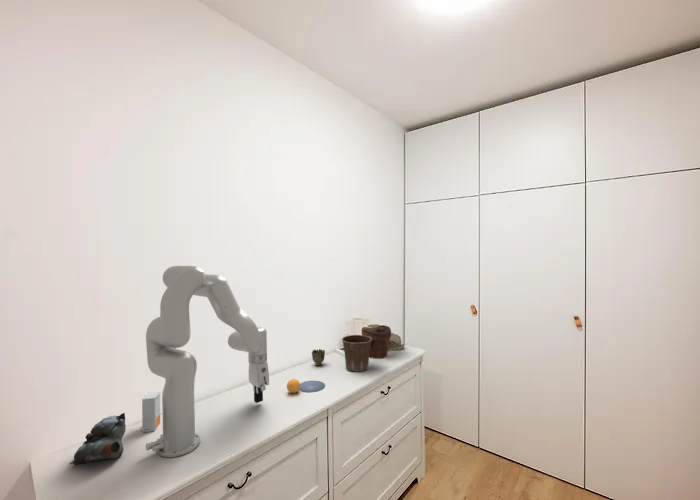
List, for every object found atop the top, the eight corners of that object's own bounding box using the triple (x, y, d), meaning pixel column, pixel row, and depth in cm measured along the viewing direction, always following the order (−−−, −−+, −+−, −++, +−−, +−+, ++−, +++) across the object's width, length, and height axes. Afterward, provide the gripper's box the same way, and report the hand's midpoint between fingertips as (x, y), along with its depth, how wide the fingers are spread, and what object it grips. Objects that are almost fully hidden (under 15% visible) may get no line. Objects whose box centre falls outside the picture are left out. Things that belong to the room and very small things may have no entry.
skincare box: (155, 431, 120) (154, 398, 120) (142, 432, 119) (141, 399, 119) (161, 422, 126) (160, 391, 126) (148, 424, 125) (148, 392, 125)
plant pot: (378, 369, 178) (377, 339, 178) (353, 376, 169) (353, 344, 169) (360, 361, 192) (360, 333, 192) (336, 367, 183) (336, 337, 183)
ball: (290, 394, 147) (293, 380, 148) (282, 390, 151) (285, 377, 152) (301, 394, 150) (303, 380, 152) (293, 390, 155) (296, 377, 156)
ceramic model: (381, 350, 213) (380, 334, 213) (383, 345, 224) (383, 330, 224) (403, 351, 209) (403, 335, 209) (404, 346, 220) (404, 331, 220)
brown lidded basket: (396, 351, 208) (395, 323, 208) (386, 362, 190) (385, 330, 190) (369, 349, 215) (368, 321, 215) (357, 358, 197) (356, 328, 197)
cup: (323, 367, 182) (322, 353, 182) (310, 367, 184) (309, 352, 184) (326, 363, 190) (326, 349, 190) (314, 362, 191) (314, 348, 191)
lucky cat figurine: (62, 465, 102) (77, 414, 108) (105, 461, 111) (117, 415, 117) (85, 465, 95) (100, 410, 102) (129, 461, 104) (140, 411, 111)
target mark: (307, 394, 148) (307, 394, 148) (292, 386, 158) (292, 385, 158) (330, 386, 157) (330, 386, 157) (314, 378, 167) (314, 378, 167)
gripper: (274, 359, 136) (275, 404, 136) (257, 351, 148) (258, 393, 148) (257, 364, 131) (258, 410, 131) (241, 355, 143) (242, 398, 143)
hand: (258, 401), depth 140 cm, fingers closed
